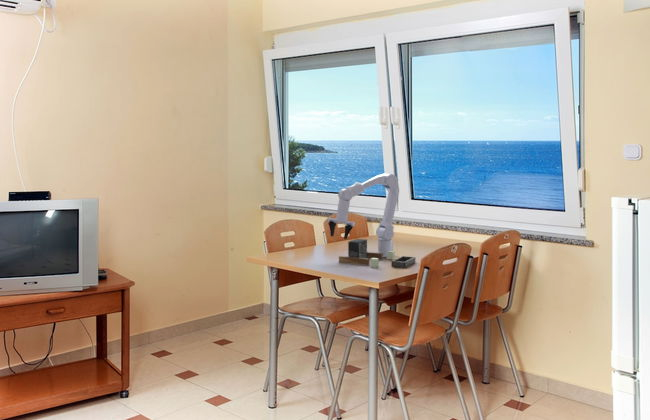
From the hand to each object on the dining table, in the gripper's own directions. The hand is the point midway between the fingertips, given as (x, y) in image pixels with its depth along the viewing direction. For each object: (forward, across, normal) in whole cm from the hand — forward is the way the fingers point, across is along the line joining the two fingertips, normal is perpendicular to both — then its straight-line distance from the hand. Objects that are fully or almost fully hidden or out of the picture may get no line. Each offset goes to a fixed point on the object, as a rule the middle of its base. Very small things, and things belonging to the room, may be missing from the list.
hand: (338, 237), depth 329 cm
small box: (+10, +11, +2) cm, 15 cm away
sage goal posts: (+8, +25, +2) cm, 27 cm away
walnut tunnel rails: (+10, +13, +2) cm, 17 cm away
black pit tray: (+7, +36, +2) cm, 37 cm away
